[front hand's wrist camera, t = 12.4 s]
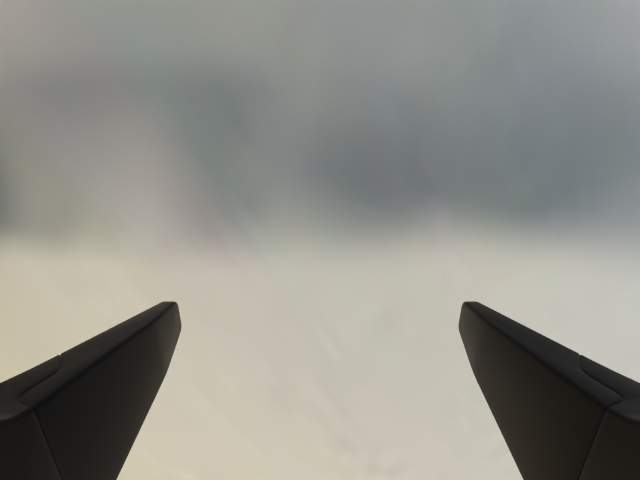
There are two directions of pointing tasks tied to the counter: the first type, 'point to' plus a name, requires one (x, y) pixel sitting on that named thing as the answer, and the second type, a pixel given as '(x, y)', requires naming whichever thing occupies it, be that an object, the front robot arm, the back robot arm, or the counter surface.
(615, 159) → the counter surface
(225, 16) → the counter surface
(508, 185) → the counter surface
